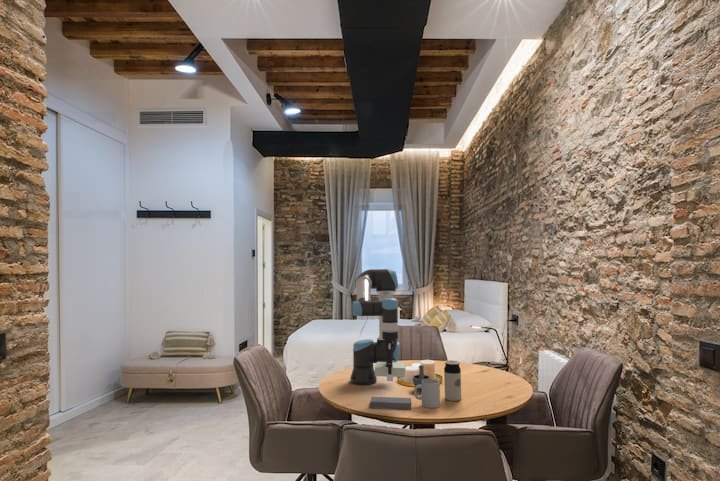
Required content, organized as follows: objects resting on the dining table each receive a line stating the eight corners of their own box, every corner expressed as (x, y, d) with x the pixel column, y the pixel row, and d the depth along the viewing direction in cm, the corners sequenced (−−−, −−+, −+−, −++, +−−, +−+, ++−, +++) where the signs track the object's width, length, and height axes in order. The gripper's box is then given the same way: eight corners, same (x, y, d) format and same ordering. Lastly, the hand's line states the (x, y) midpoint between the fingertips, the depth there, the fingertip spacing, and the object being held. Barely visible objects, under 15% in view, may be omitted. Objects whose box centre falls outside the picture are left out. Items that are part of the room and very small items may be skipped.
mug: (438, 402, 196) (437, 379, 196) (441, 408, 187) (441, 383, 188) (413, 402, 196) (413, 379, 196) (415, 408, 187) (415, 384, 188)
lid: (376, 370, 199) (376, 361, 200) (405, 370, 198) (405, 362, 198) (374, 376, 188) (374, 367, 189) (405, 377, 187) (405, 368, 187)
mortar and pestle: (431, 393, 210) (430, 369, 211) (412, 392, 211) (412, 369, 212) (430, 387, 221) (429, 364, 222) (413, 386, 223) (412, 364, 223)
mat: (371, 401, 197) (371, 396, 197) (411, 403, 194) (411, 397, 195) (370, 407, 189) (370, 401, 189) (411, 408, 186) (411, 403, 187)
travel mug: (442, 397, 203) (441, 360, 205) (456, 395, 206) (455, 359, 207) (449, 402, 196) (448, 364, 197) (464, 400, 198) (463, 362, 199)
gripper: (397, 335, 182) (397, 385, 181) (398, 327, 205) (399, 371, 204) (380, 335, 183) (380, 384, 182) (383, 327, 206) (384, 370, 205)
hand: (390, 377), depth 193 cm, fingers closed on lid, 11 cm apart
